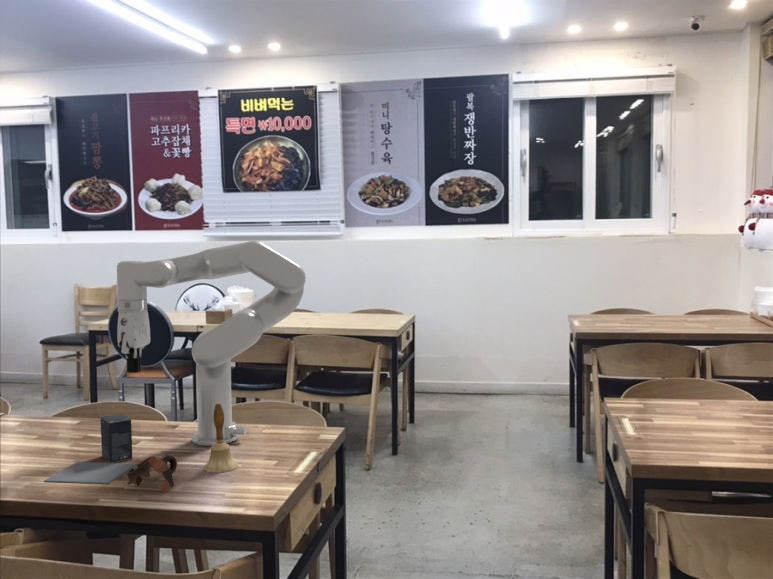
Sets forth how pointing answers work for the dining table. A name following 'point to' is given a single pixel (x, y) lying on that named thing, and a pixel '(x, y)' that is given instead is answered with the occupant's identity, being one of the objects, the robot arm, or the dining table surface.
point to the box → (116, 438)
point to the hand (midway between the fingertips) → (134, 371)
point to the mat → (91, 472)
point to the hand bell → (220, 448)
